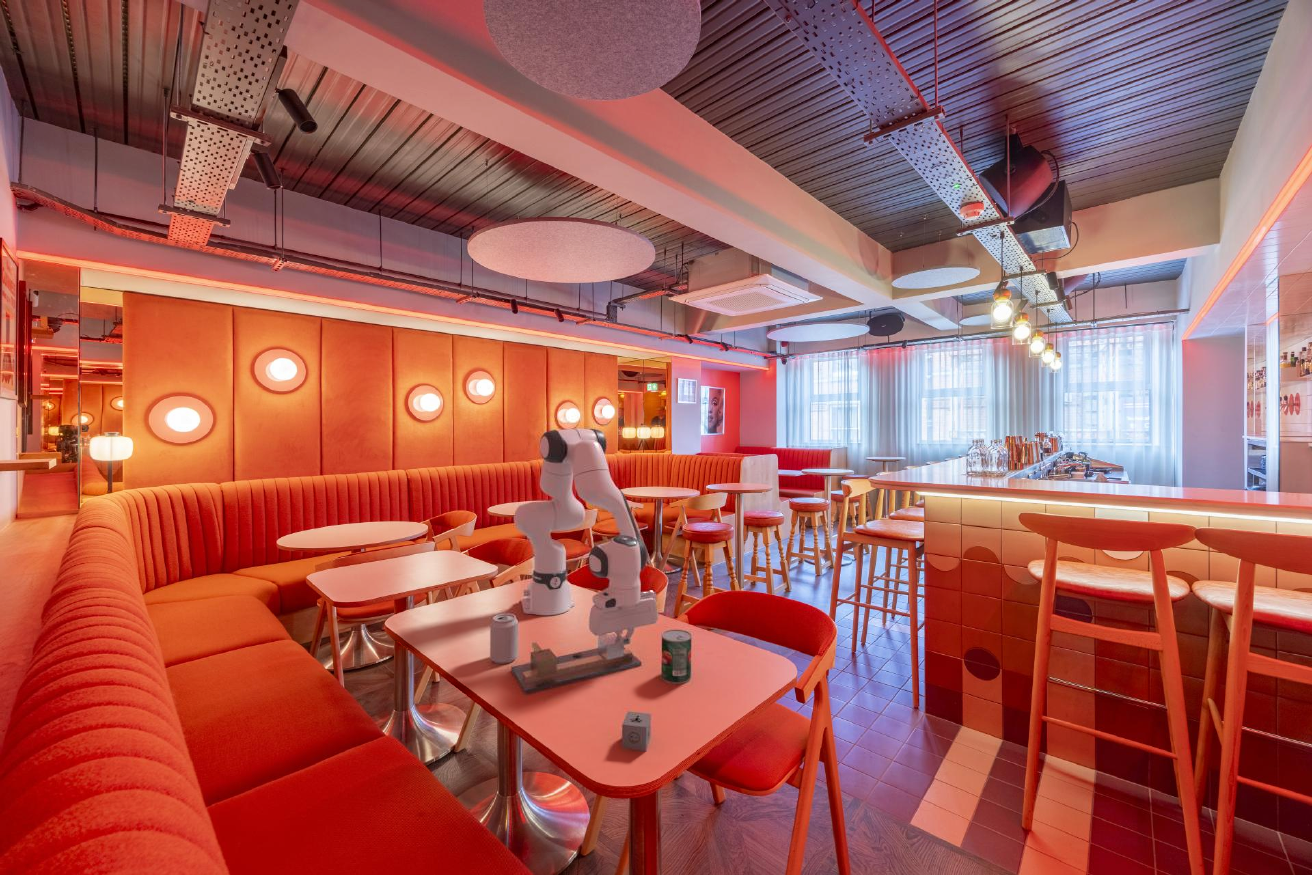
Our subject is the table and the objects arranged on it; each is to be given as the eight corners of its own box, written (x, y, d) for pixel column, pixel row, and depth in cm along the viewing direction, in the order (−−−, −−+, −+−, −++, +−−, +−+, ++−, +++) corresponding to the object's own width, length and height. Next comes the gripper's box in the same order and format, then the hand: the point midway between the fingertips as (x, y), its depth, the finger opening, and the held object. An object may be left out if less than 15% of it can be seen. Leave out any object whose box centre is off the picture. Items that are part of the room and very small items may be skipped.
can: (509, 650, 149) (509, 609, 149) (522, 659, 144) (523, 616, 143) (485, 658, 144) (485, 616, 143) (498, 667, 138) (498, 623, 138)
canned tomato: (655, 675, 135) (655, 633, 135) (678, 666, 140) (678, 626, 140) (674, 687, 129) (674, 643, 128) (697, 678, 133) (697, 636, 133)
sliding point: (590, 648, 147) (590, 630, 147) (606, 645, 150) (606, 627, 150) (606, 664, 137) (606, 644, 137) (623, 660, 140) (623, 641, 140)
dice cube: (622, 748, 104) (622, 724, 104) (627, 734, 108) (627, 711, 108) (646, 751, 103) (646, 726, 103) (650, 737, 108) (650, 713, 108)
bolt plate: (511, 670, 137) (511, 646, 137) (619, 646, 152) (619, 624, 152) (525, 694, 124) (525, 667, 124) (641, 665, 140) (641, 641, 140)
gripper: (651, 586, 151) (651, 633, 151) (586, 597, 141) (586, 647, 141) (662, 592, 146) (661, 640, 146) (596, 604, 135) (595, 656, 136)
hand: (624, 644), depth 143 cm, fingers closed
